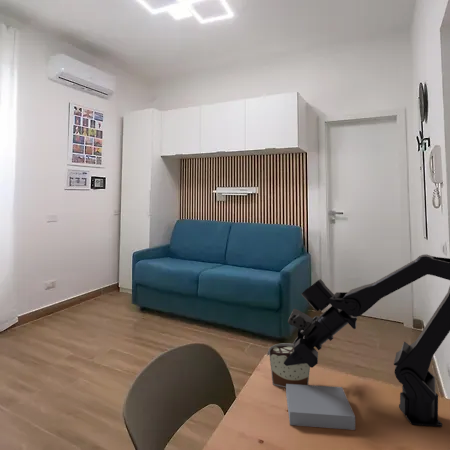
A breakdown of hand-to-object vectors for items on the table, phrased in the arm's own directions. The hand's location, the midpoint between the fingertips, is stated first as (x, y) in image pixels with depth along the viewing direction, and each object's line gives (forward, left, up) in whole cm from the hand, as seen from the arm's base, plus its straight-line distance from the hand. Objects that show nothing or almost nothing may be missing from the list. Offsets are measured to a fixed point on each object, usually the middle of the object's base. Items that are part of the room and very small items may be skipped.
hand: (286, 358), depth 83 cm
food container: (-1, 0, -7) cm, 7 cm away
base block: (-6, +12, -7) cm, 15 cm away
